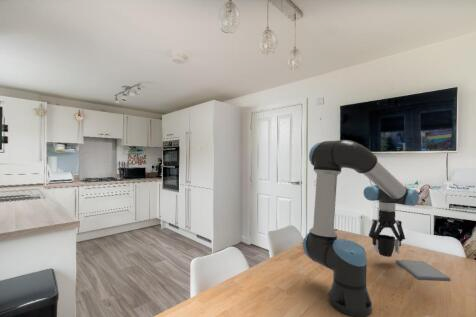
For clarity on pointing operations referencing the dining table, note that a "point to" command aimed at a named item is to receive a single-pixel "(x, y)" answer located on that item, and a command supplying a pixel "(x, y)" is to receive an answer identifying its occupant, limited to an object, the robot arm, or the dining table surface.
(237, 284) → the dining table surface
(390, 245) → the mug
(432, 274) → the slate board
